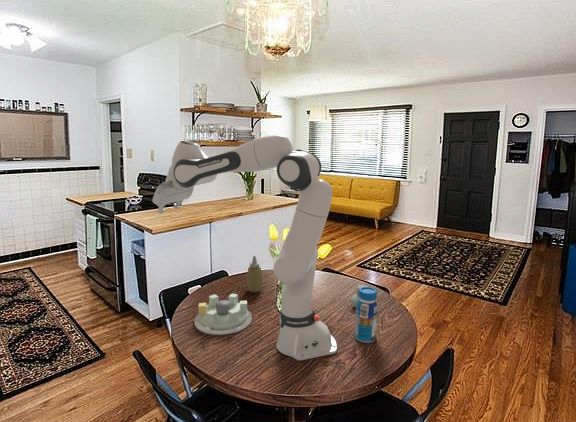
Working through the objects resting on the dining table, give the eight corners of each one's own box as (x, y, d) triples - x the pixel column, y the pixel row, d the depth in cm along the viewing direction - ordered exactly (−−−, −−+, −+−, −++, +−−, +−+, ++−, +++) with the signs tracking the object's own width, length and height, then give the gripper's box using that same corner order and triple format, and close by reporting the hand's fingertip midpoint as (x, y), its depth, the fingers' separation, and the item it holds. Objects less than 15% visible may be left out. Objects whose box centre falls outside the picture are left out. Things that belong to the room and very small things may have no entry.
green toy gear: (246, 304, 167) (246, 291, 166) (249, 327, 147) (248, 313, 146) (200, 307, 164) (199, 294, 162) (196, 331, 144) (195, 316, 143)
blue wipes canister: (350, 334, 146) (352, 287, 142) (368, 330, 149) (371, 284, 145) (361, 345, 138) (364, 296, 134) (380, 341, 141) (384, 292, 137)
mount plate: (250, 305, 169) (250, 300, 168) (253, 333, 146) (253, 326, 145) (197, 308, 165) (196, 303, 165) (191, 337, 142) (191, 330, 142)
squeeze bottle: (260, 286, 191) (260, 253, 187) (264, 292, 183) (264, 258, 180) (245, 288, 188) (244, 254, 185) (248, 294, 181) (248, 259, 177)
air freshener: (349, 310, 166) (350, 289, 164) (351, 302, 174) (352, 282, 172) (374, 313, 164) (375, 292, 162) (374, 304, 172) (376, 284, 170)
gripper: (167, 187, 133) (157, 219, 138) (199, 180, 152) (189, 209, 156) (153, 179, 135) (144, 211, 139) (187, 173, 153) (178, 202, 158)
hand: (168, 210), depth 148 cm, fingers open, 8 cm apart
